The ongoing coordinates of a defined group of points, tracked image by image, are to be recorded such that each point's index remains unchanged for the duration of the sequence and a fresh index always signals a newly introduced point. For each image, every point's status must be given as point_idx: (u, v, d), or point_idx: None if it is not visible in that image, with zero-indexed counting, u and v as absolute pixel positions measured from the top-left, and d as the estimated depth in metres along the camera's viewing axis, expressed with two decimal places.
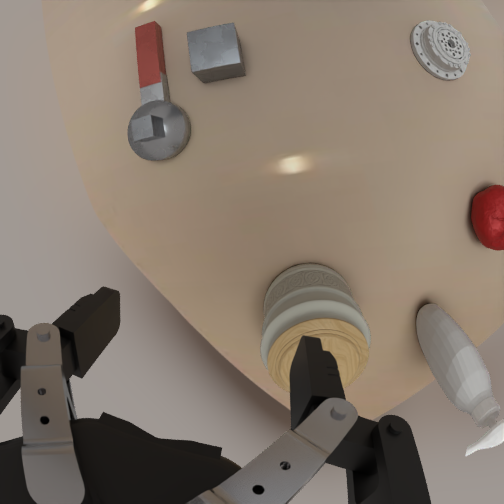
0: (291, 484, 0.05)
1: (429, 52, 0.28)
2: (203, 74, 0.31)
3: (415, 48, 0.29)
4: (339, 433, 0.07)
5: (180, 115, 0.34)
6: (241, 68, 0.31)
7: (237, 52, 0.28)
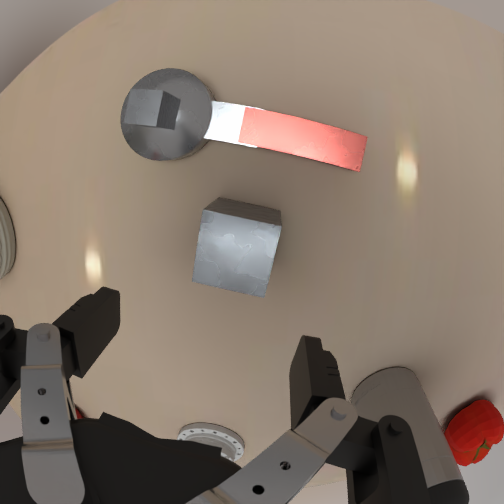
0: (291, 484, 0.05)
1: (200, 440, 0.34)
2: None
3: (209, 428, 0.35)
4: (339, 433, 0.07)
5: (166, 157, 0.23)
6: None
7: (209, 283, 0.22)
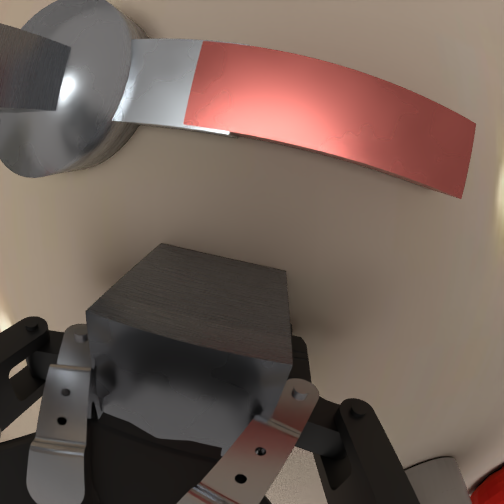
0: (271, 468, 0.05)
1: None
2: None
3: None
4: (297, 412, 0.07)
5: (44, 171, 0.09)
6: None
7: None
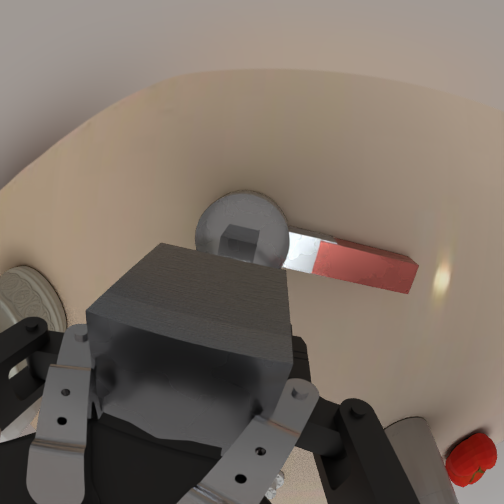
0: (271, 468, 0.05)
1: None
2: None
3: None
4: (297, 412, 0.07)
5: None
6: None
7: None
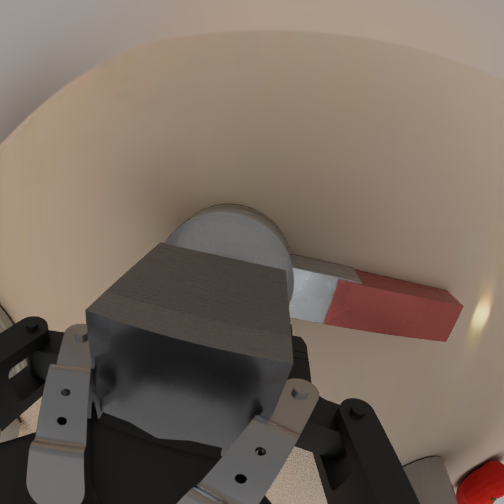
0: (271, 468, 0.05)
1: None
2: None
3: None
4: (297, 412, 0.07)
5: None
6: None
7: None
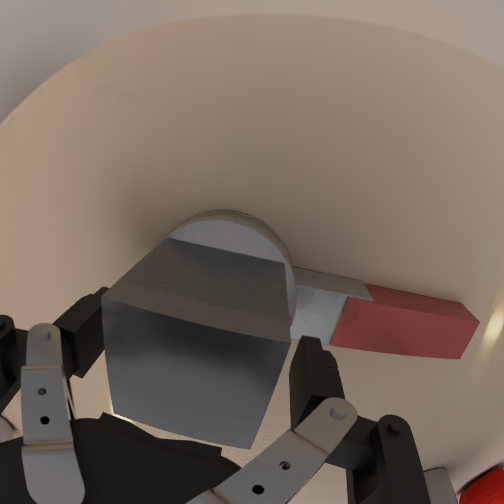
0: (291, 484, 0.05)
1: None
2: None
3: None
4: (339, 433, 0.07)
5: None
6: None
7: (144, 422, 0.10)
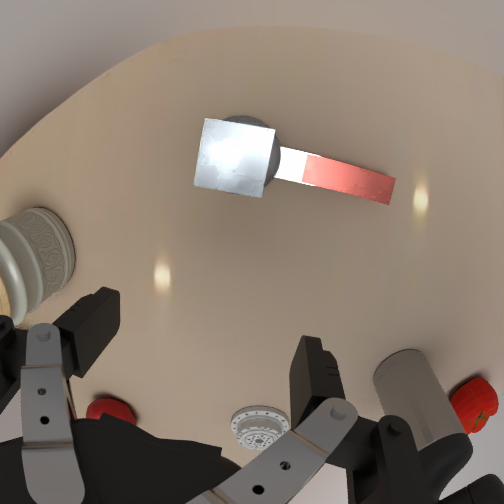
0: (292, 484, 0.05)
1: (255, 421, 0.42)
2: None
3: (262, 410, 0.43)
4: (339, 433, 0.07)
5: None
6: None
7: (209, 186, 0.24)
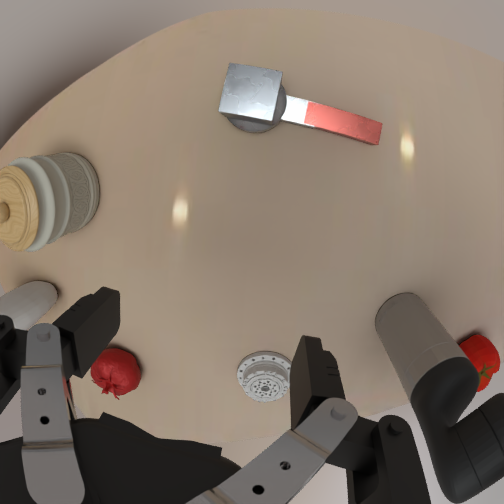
0: (292, 484, 0.05)
1: (261, 366, 0.46)
2: None
3: (269, 355, 0.47)
4: (339, 433, 0.07)
5: (256, 129, 0.34)
6: (222, 113, 0.31)
7: (231, 111, 0.28)
